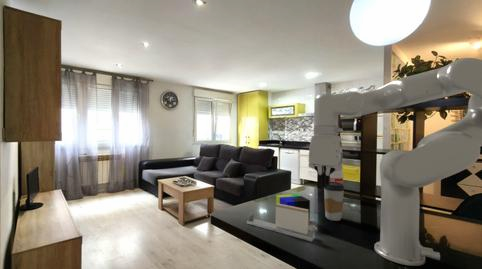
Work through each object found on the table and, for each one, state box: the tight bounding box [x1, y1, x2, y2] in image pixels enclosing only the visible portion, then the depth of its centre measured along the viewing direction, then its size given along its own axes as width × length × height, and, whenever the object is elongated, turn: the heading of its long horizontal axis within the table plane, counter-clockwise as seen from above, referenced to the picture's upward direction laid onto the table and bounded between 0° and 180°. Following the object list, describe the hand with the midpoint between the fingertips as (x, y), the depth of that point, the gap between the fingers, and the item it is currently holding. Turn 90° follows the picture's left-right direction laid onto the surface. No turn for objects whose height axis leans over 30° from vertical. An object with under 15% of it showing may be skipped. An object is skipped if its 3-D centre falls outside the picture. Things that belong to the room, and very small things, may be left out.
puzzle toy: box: [275, 193, 311, 227], centre depth 94 cm, size 10×10×10 cm
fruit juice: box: [325, 162, 344, 185], centre depth 130 cm, size 9×9×28 cm
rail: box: [246, 213, 316, 243], centre depth 85 cm, size 26×4×3 cm, turn 56°
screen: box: [274, 203, 309, 234], centre depth 82 cm, size 12×1×8 cm, turn 56°
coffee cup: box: [323, 182, 345, 222], centre depth 98 cm, size 8×8×15 cm
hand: (324, 186), depth 76 cm, fingers closed
